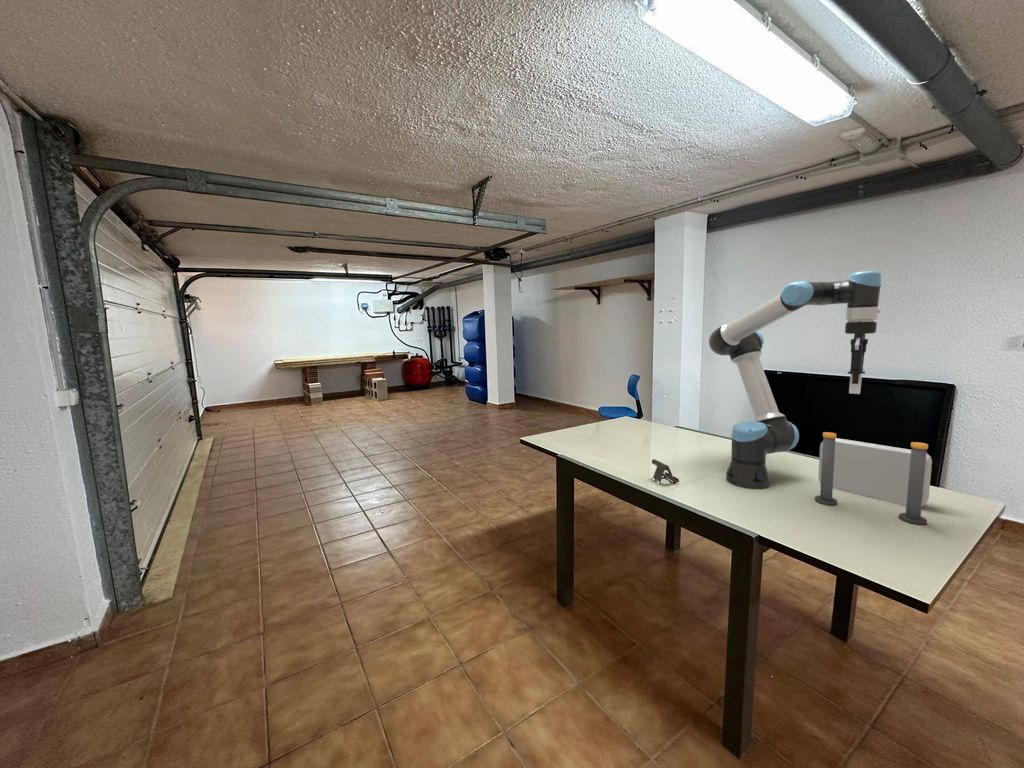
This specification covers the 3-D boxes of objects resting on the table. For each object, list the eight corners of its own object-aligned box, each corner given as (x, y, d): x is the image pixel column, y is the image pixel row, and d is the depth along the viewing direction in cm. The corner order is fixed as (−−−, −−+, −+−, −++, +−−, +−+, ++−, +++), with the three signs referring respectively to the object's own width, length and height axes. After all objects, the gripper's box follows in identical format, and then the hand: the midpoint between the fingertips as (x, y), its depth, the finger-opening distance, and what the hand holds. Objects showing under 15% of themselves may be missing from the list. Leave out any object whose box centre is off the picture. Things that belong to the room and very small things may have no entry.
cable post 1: (813, 502, 135) (816, 434, 132) (816, 496, 140) (819, 430, 137) (835, 507, 131) (839, 436, 128) (838, 501, 135) (842, 433, 132)
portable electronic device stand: (679, 484, 156) (679, 463, 155) (661, 486, 155) (662, 466, 154) (665, 476, 165) (665, 457, 164) (649, 479, 163) (649, 459, 162)
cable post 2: (898, 520, 120) (905, 444, 117) (899, 514, 125) (905, 440, 122) (926, 527, 116) (934, 447, 113) (926, 519, 120) (933, 443, 117)
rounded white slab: (929, 504, 131) (934, 451, 129) (923, 510, 127) (928, 456, 124) (825, 480, 155) (828, 435, 152) (817, 484, 150) (820, 438, 148)
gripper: (875, 321, 119) (867, 397, 122) (878, 320, 128) (871, 391, 131) (843, 321, 124) (836, 395, 128) (848, 321, 133) (842, 389, 137)
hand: (854, 393), depth 129 cm, fingers closed
